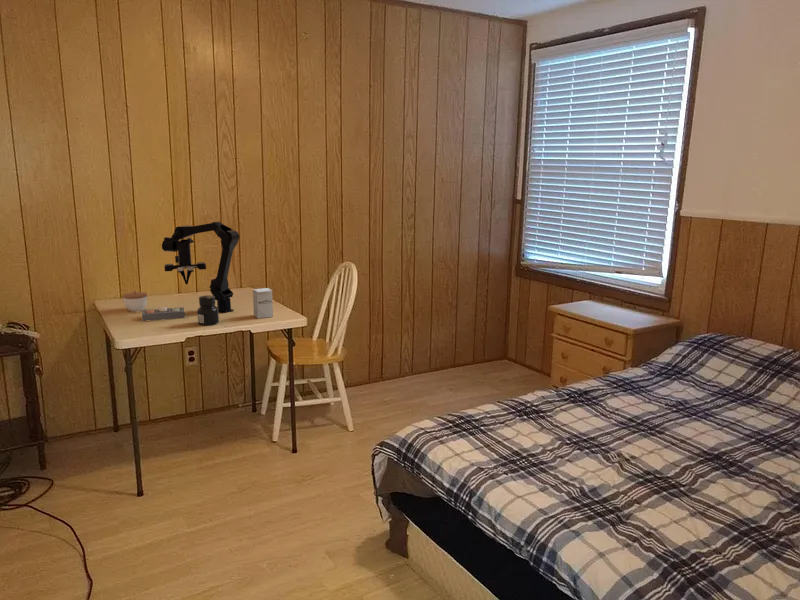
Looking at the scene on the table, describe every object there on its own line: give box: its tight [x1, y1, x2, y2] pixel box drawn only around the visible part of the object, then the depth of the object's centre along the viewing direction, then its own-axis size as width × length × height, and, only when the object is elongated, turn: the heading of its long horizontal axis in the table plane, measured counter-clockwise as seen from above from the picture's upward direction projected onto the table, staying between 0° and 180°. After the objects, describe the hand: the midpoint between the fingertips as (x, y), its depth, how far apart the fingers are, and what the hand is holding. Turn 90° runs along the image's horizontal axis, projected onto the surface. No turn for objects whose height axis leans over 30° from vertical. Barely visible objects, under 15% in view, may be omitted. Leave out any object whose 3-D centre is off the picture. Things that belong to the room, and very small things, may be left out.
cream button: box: [158, 306, 168, 312], centre depth 280 cm, size 4×4×2 cm
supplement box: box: [252, 287, 274, 319], centre depth 283 cm, size 7×7×13 cm
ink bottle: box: [196, 294, 220, 326], centre depth 270 cm, size 10×9×12 cm
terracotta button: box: [146, 309, 155, 313], centre depth 279 cm, size 4×4×2 cm
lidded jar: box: [122, 290, 148, 312], centre depth 293 cm, size 11×11×9 cm
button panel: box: [141, 306, 186, 322], centre depth 281 cm, size 18×9×3 cm, turn 111°
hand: (186, 284), depth 295 cm, fingers closed
